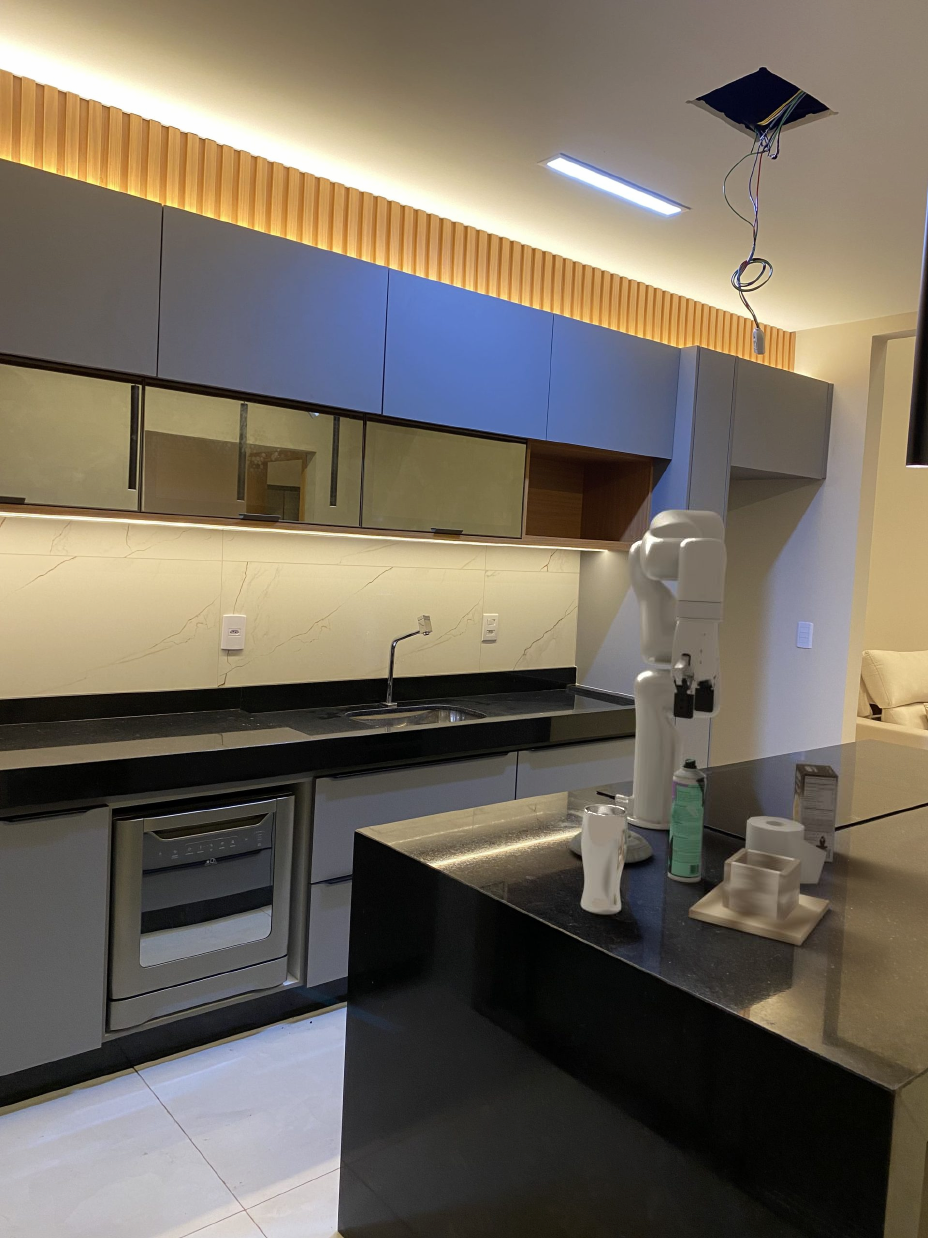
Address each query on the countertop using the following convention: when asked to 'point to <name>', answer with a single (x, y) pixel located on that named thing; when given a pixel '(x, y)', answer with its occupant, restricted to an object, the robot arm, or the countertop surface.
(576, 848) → the flying saucer
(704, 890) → the countertop surface
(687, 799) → the spray can
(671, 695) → the robot arm
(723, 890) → the can caddy
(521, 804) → the countertop surface
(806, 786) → the coffee box
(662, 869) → the countertop surface
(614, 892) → the beer glass
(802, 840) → the toilet tissue
